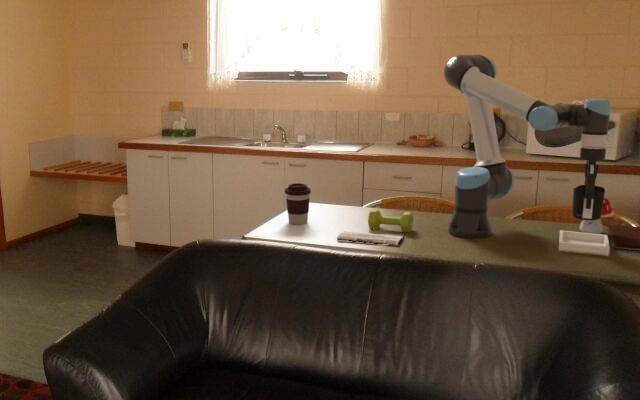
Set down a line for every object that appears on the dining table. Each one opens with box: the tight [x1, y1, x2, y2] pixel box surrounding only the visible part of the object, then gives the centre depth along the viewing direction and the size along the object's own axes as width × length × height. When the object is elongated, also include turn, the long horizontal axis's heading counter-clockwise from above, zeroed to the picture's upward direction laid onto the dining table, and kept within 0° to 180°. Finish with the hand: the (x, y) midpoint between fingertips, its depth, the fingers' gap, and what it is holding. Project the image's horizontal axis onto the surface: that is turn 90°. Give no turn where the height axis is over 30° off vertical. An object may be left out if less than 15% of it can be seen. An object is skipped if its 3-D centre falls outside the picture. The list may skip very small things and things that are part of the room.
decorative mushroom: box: [579, 195, 615, 234], centre depth 212 cm, size 14×14×15 cm
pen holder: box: [572, 184, 606, 221], centre depth 194 cm, size 9×9×10 cm
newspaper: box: [336, 230, 405, 246], centre depth 207 cm, size 23×12×2 cm, turn 70°
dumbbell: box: [367, 208, 414, 233], centre depth 218 cm, size 16×8×7 cm, turn 69°
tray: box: [558, 229, 611, 257], centre depth 198 cm, size 15×15×3 cm
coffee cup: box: [284, 182, 312, 225], centre depth 227 cm, size 10×10×15 cm
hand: (586, 214), depth 195 cm, fingers closed on pen holder, 9 cm apart
